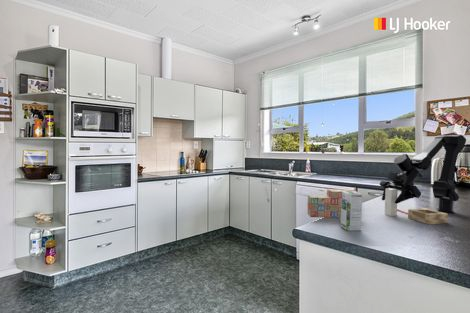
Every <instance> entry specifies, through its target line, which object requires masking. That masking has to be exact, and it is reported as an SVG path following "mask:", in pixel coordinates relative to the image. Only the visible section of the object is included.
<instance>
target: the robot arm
mask: <svg viewBox="0 0 470 313" xmlns="http://www.w3.org/2000/svg"><path fill="white" fill-rule="evenodd" d="M466 142H467V138H466V137H465V136H464V135H463V134H453V135H445V134H444V135H437V136H435V137H434V140H432V141H431V143H430V144H429V145H428V146H427V147H426V148H425V149H424V150H423V151H422V152H420V153H419V154H416V155H414V157H412V158H410V157H409V155H408V154H407V153H402V155H398V156H397V157H395V158H394V160H393V162H394V164H395V165H396V166H397V168H398V169H399V171H401V172H393V171H389V173H388V175H387V178H386V179H388V180H391V182H392V183H393V184H392V183H391V182H390V181H388V180H381V181H380V182H379V185H380V186H381V188H382V189H383V193H382V196H381V200H382V201H385V189H389V188H392V189H397V190H398V191H399V192H400V193H399V194H398V195H397V199H396V201H395V203H396V204H397V205H398V204H400V203H402V202H404V201H407V200H411V199H414V198H417V199H419V198H420V197H421V195H422V192H421V190H420V189H419V188H418V186H417V185H415V183H414V181H416V179H417V178H419V179H422V178H423V174H422V172H421V171H427V170H428V169H429V168H430V167H431V165H432V160H433V158H434V157H435V156H436V155H437V154H438V153H439V151H441V150H442V149H443V148H444V151H445V153H444V158H443V162H442V163H443V164H442V168H441V172H440V175H439V179H438V180H434V181H433V184H432V187H431V188H432V193H433V198H434V199H438V207H437V208H436V211H439V212H443V213H451V214H455V211H454V202H457V201H458V202H459V199H460V195H459V194H458V193H457V191H456V185H455V184H454V181H453V179H454V174H455V169H456V165H457V161H458V155H459V154H460V152H461V151H462V150H463V149H464V148H465V145H466Z"/></svg>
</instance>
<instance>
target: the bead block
mask: <svg viewBox="0 0 470 313" xmlns="http://www.w3.org/2000/svg"><path fill="white" fill-rule="evenodd" d="M407 213H408V214H407V219H410V220H413V221H416V222H419V223H424V224H427V225H439V224H448V216H449V214H448V212H441V211H438V210H434V209H429V208H425V207H424V208H410V209H409V208H408V211H407Z"/></svg>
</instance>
